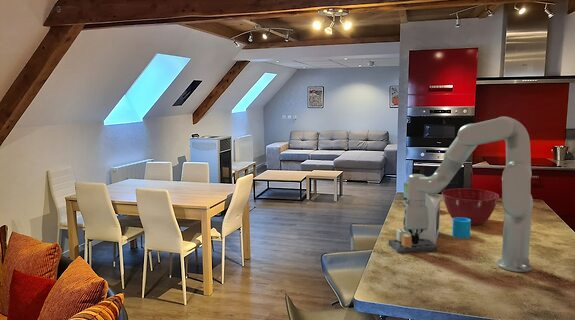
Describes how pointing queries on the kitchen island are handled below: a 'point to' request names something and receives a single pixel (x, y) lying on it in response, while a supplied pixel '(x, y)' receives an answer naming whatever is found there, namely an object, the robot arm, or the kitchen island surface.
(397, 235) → the fader ivory
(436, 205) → the gable box
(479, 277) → the kitchen island surface
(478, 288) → the kitchen island surface
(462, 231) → the mug
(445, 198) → the mixing bowl
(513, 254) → the robot arm
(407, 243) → the fader orange
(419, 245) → the console
